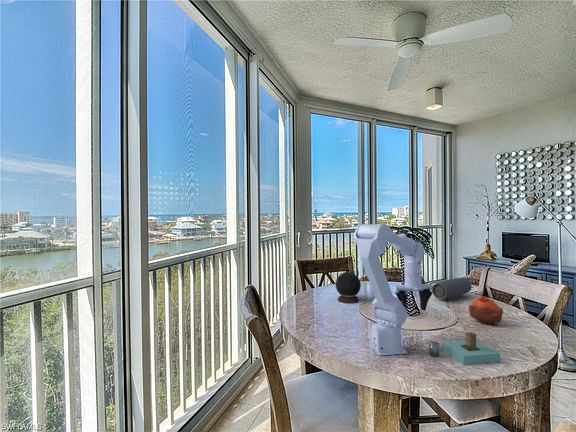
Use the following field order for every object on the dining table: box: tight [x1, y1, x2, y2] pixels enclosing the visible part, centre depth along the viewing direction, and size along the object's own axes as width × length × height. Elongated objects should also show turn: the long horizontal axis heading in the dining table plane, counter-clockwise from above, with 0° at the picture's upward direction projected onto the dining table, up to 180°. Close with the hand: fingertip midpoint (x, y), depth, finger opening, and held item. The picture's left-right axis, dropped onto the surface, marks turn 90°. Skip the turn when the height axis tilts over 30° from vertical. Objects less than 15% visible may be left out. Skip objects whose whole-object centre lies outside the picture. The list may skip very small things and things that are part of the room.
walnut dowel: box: [464, 331, 477, 351], centre depth 96 cm, size 3×3×7 cm
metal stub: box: [428, 340, 440, 358], centre depth 98 cm, size 3×3×4 cm
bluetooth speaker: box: [431, 277, 472, 301], centre depth 161 cm, size 23×9×10 cm, turn 120°
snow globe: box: [335, 271, 362, 305], centre depth 161 cm, size 13×13×15 cm
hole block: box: [442, 339, 501, 365], centre depth 97 cm, size 12×10×2 cm
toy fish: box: [468, 295, 504, 325], centre depth 124 cm, size 12×10×11 cm
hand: (413, 310), depth 112 cm, fingers open, 7 cm apart
